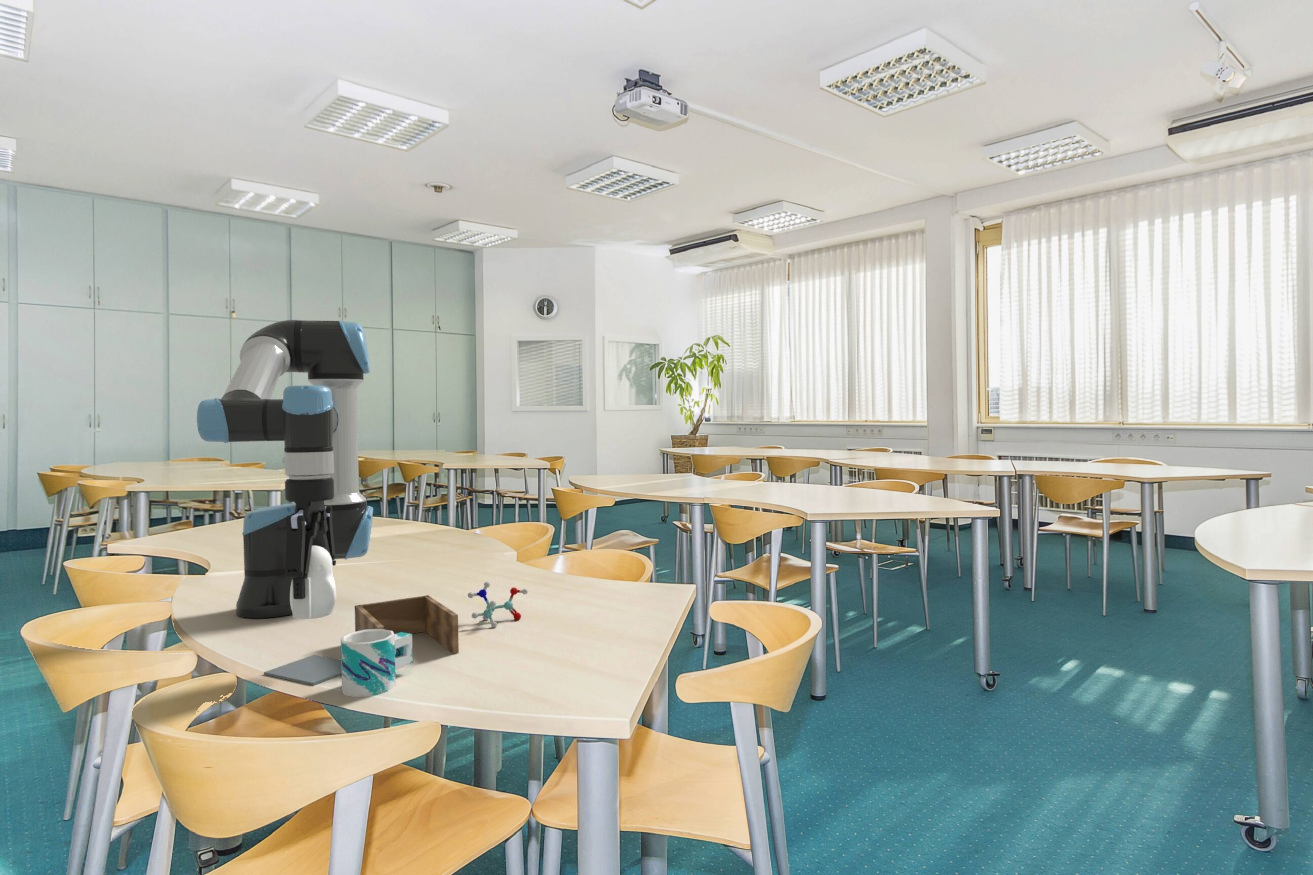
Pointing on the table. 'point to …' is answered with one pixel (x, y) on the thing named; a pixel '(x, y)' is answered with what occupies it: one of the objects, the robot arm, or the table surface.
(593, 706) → the table surface
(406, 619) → the walnut box
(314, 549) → the figurine
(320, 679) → the felt mat
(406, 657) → the mug
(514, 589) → the molecular model
